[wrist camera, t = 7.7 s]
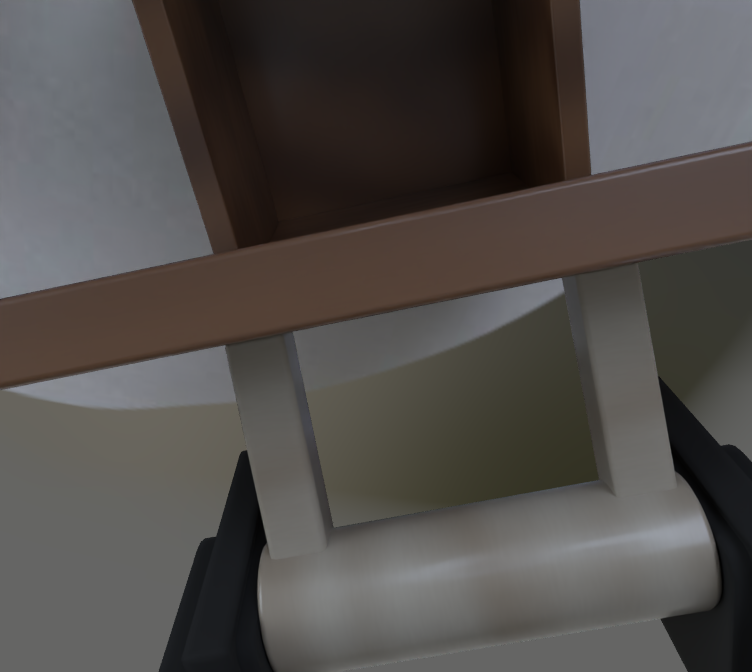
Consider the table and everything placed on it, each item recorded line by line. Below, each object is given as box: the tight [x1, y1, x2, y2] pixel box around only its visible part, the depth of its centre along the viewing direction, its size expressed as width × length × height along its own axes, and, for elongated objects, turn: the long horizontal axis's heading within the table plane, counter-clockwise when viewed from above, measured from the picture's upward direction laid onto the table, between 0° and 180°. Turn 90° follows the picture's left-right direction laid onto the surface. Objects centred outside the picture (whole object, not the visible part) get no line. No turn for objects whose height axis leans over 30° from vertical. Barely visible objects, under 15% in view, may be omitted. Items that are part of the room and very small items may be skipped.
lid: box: [0, 142, 752, 672], centre depth 13 cm, size 14×12×5 cm
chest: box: [132, 0, 591, 254], centre depth 22 cm, size 14×12×9 cm
